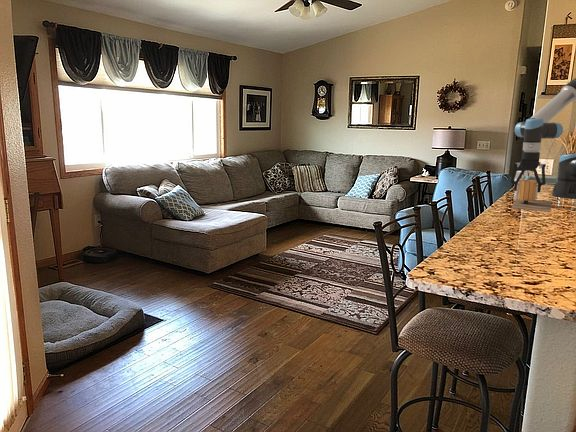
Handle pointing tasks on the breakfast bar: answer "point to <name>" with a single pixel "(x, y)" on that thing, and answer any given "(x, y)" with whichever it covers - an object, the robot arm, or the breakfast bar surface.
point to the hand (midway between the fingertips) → (526, 198)
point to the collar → (527, 190)
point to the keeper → (547, 179)
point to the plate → (532, 205)
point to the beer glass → (520, 178)
